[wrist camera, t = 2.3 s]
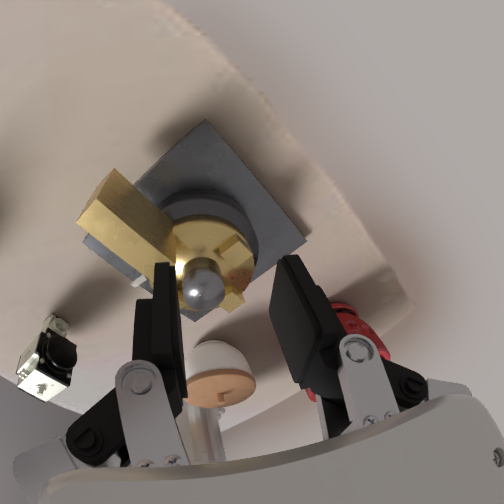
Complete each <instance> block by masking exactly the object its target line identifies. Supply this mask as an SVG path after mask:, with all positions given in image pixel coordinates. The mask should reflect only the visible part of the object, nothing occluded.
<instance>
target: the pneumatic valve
mask: <svg viewBox="0 0 504 504" xmlns="http://www.w3.org/2000/svg"><path fill="white" fill-rule="evenodd" d="M42 328H43V329H42V330H41V333H40V334H39V335H38V336H37V337H36V339H35V340H34V341H33V342H32V343H31V344H30V345H29V347H28V348H27V349H26V350H25V351H24V353H23V354H22V355H21V356H20V360H19V363H18V367H17V371H16V374H17V375H18V376H19V379H18V383H17V388H18V389H20V390H22V391H24V392H25V393H27V394H29V395H31V396H33V397H35V398H36V399H39V400H40V401H42V402H46V401H48V400H49V399H51V398H52V397H54V396H55V395H57V394H58V393H60V392H61V391H63V390H64V389H66V388H67V387H69V386H70V382H71V376H72V369H73V367H74V366H75V365H76V362H77V353H76V347H77V346H76V345H75V344H73V343H72V342H70V341H69V340H68V339H66V338H65V337H66V335H67V330H68V329H69V324H67V323H66V322H65V321H64V320H63V319H61V318H56V316H55V315H54V314H51V315H50V316H49V317H48V318H47V319H46V321H45V322H44V323H43V324H42Z"/></svg>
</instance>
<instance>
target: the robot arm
mask: <svg viewBox="0 0 504 504" xmlns="http://www.w3.org/2000/svg"><path fill="white" fill-rule="evenodd" d="M269 314H270V318H271V321H272V323H273V326H274V329H275V332H276V334H277V337H278V340H279V343H280V345H281V348H282V351H283V354H284V356H285V359H286V362H287V365H288V367H289V370H290V373H291V375H292V378H293V381H294V382H295V383H299V386H300V388H301V390H302V389H306V388H310V389H311V392H313V393H315V397H316V402H317V407H318V413H319V418H320V424H321V429H322V435H323V440H324V441H321V442H318V443H314V444H310V445H307V446H303V447H300V448H295V449H291V450H287V451H282V452H278V453H273V454H268V455H263V456H258V457H252V458H246V459H240V460H233V461H227V460H226V456H225V451H224V447H223V442H222V437H221V432H220V427H219V422H218V420H219V419H220V418H221V414H224V413H225V408H222V407H221V408H202V407H197V406H194V405H191V404H189V403H188V402H186V401H185V400H184V398H188V391H187V382H186V373H185V363H184V353H183V341H182V329H181V317H180V308H179V298H178V289H177V278H176V267H175V266H170V262H158V263H155V266H154V283H153V299H137V301H136V309H135V320H134V335H133V353H132V361H130V362H127V363H126V364H124V365H123V366H121V368H120V369H119V370H118V371H117V374H116V376H115V386H116V387H115V388H114V389H113V390H111V391H110V392H109V393H108V394H107V395H106V396H104V397H103V398H102V399H101V400H100V401H99V402H97V403H96V404H95V405H94V406H93V407H92V408H90V409H89V410H88V411H87V412H86V413H85V414H83V415H82V416H81V417H80V418H79V419H78V420H76V421H75V422H74V423H73V424H72V425H71V426H70V427H69V429H68V431H67V433H66V435H64V436H62V437H59V436H56V437H54V438H52V439H50V440H48V441H46V442H44V443H42V444H40V445H37V446H35V447H33V448H31V449H29V450H27V451H25V452H22V453H20V454H19V455H17V456H16V457H15V459H14V461H13V466H12V469H13V473H14V476H15V478H16V481H17V483H18V485H19V487H20V489H21V491H22V493H23V495H24V497H25V499H26V501H27V503H28V504H504V438H503V436H502V434H501V432H500V430H499V428H498V426H497V425H496V423H495V421H494V420H493V418H492V416H491V415H490V413H489V412H488V410H487V409H486V408H485V406H484V405H483V404H482V403H481V402H480V401H479V400H478V399H476V398H475V397H472V394H471V392H470V390H469V388H467V387H466V386H465V385H462V384H458V383H452V382H446V381H440V380H434V379H429V378H428V379H427V380H426V381H425V379H424V378H423V377H422V376H421V375H420V374H418V373H417V372H415V371H412V370H410V369H407V368H405V367H403V366H400V365H398V364H395V363H393V362H391V361H389V360H386V359H384V358H382V357H380V355H379V352H378V350H377V348H376V346H375V344H374V343H373V342H372V341H371V340H370V339H369V338H367V337H365V336H363V335H360V334H350V335H348V334H347V332H346V331H345V329H344V327H343V325H342V323H341V322H340V320H339V318H338V316H337V315H336V313H335V311H334V309H333V307H332V306H331V304H330V302H329V300H328V299H327V297H326V295H325V293H324V292H323V290H322V289H321V287H320V286H318V285H315V283H314V281H313V279H312V278H311V276H310V274H309V272H308V271H307V269H306V267H305V265H304V264H303V262H302V260H301V259H300V257H299V256H298V255H297V254H296V255H284V256H283V257H282V259H279V260H278V262H277V267H276V273H275V278H274V284H273V290H272V295H271V301H270V306H269ZM130 463H131V464H132V467H127V466H128V465H129V464H130Z"/></svg>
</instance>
